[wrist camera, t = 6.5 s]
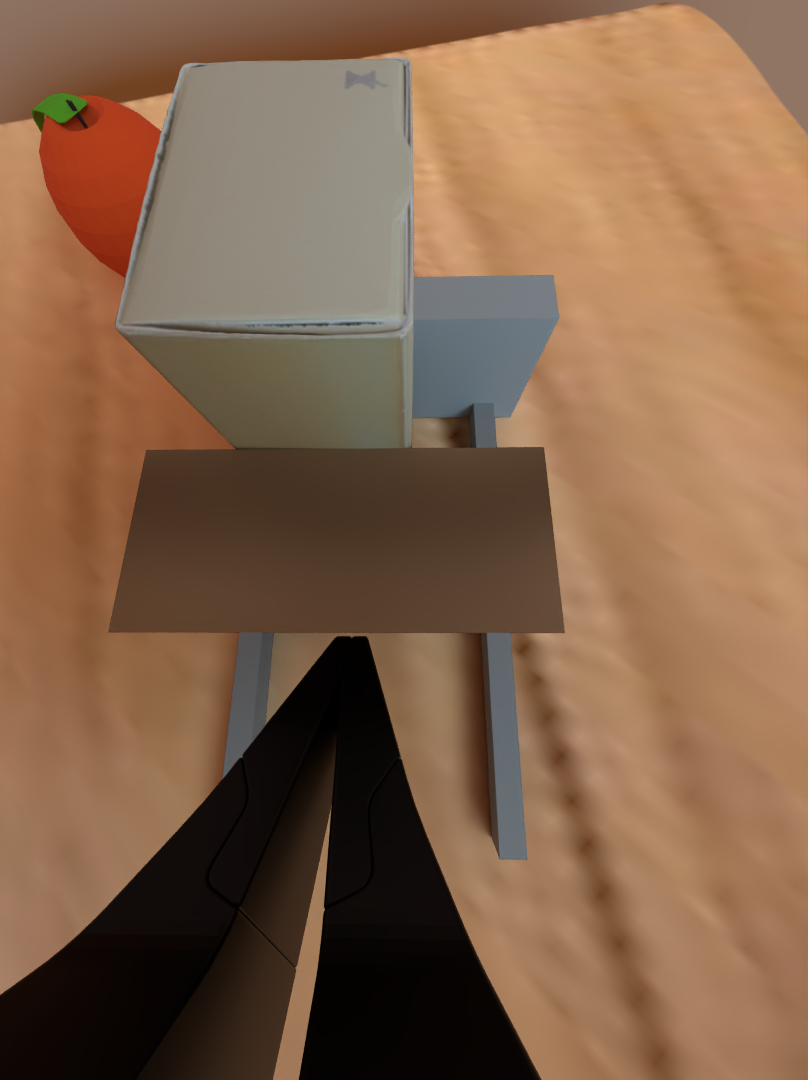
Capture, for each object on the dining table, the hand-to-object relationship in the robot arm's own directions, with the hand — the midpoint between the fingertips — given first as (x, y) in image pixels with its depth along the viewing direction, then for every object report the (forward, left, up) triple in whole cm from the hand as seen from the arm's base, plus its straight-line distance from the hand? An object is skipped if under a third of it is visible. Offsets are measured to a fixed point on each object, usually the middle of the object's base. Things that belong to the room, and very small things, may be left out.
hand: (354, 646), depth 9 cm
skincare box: (+6, +4, -7) cm, 10 cm away
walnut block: (+2, +1, -7) cm, 7 cm away
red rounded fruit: (+14, +21, -7) cm, 27 cm away
